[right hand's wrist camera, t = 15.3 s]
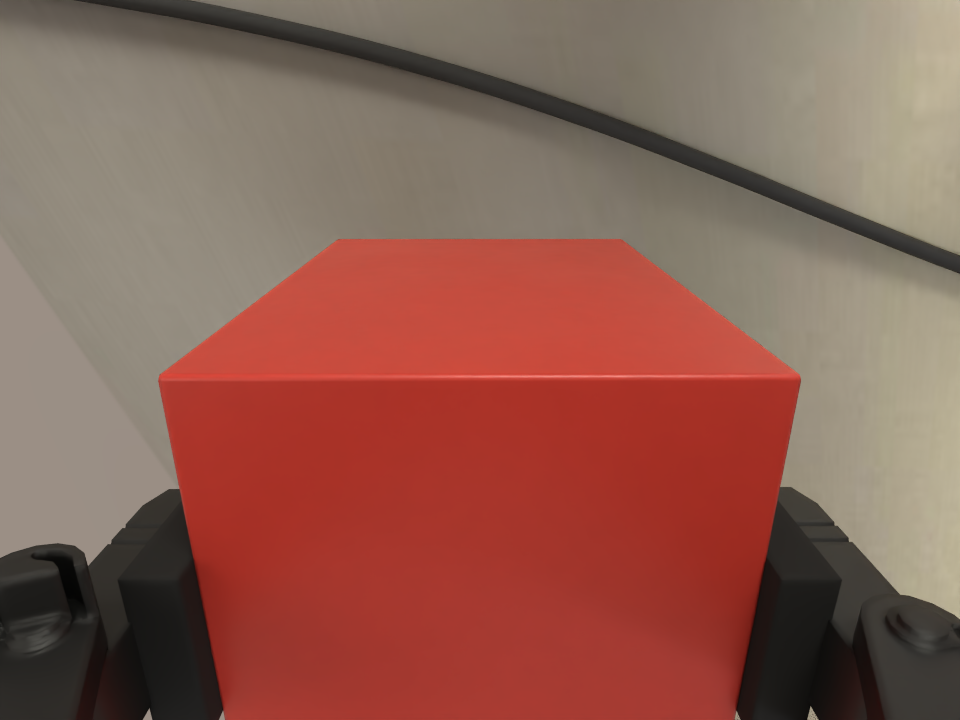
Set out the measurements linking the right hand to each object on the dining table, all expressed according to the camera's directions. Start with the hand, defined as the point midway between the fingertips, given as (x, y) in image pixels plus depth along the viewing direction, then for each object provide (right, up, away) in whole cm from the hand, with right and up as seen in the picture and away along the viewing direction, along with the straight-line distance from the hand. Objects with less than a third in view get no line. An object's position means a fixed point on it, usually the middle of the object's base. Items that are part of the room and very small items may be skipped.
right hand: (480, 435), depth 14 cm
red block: (0, +1, +3) cm, 4 cm away
